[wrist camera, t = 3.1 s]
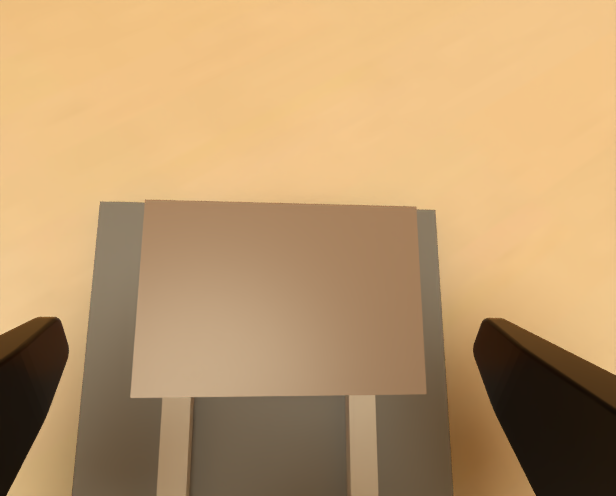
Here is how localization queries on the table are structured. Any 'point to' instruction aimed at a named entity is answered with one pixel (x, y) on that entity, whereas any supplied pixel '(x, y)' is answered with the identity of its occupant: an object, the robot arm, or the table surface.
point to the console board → (249, 409)
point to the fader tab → (278, 301)
